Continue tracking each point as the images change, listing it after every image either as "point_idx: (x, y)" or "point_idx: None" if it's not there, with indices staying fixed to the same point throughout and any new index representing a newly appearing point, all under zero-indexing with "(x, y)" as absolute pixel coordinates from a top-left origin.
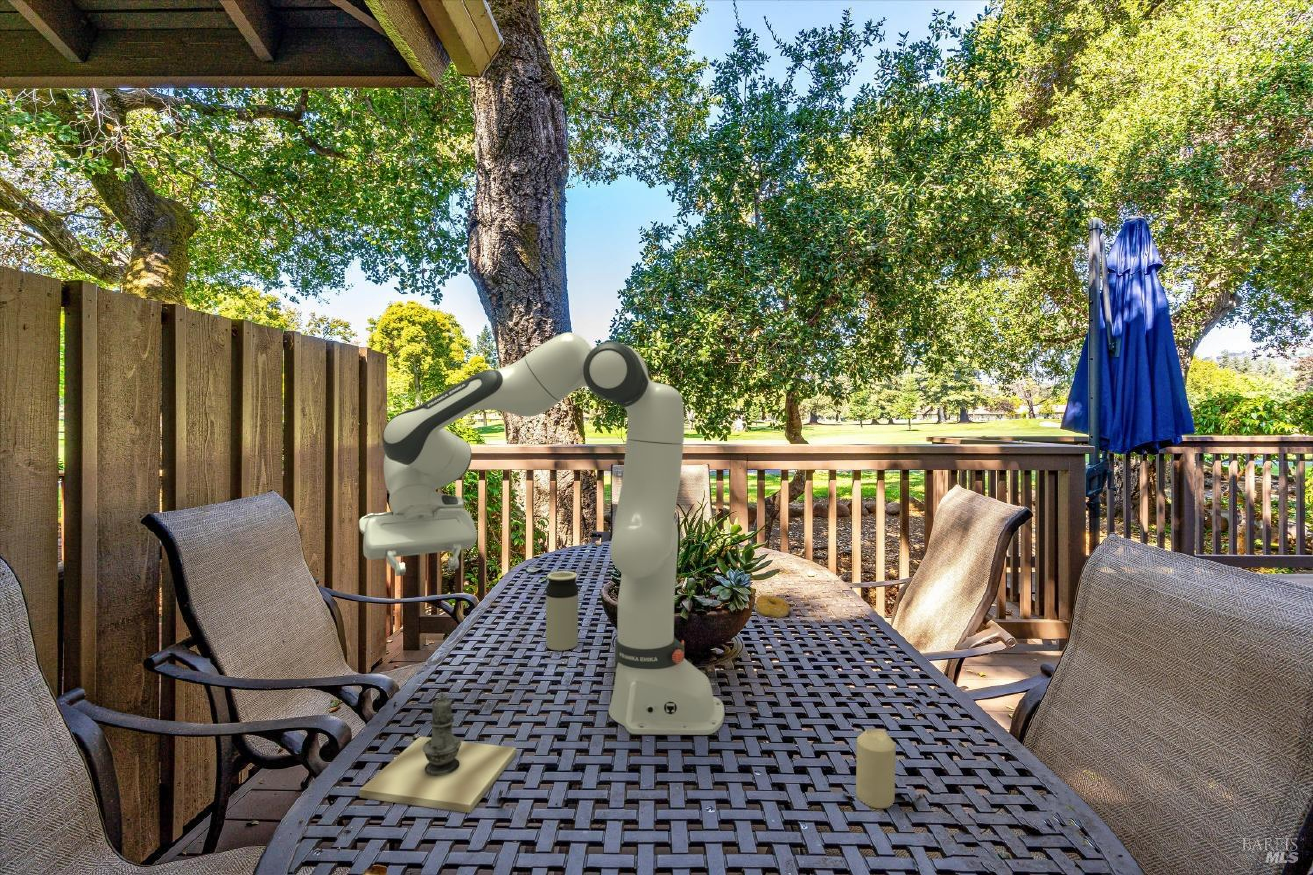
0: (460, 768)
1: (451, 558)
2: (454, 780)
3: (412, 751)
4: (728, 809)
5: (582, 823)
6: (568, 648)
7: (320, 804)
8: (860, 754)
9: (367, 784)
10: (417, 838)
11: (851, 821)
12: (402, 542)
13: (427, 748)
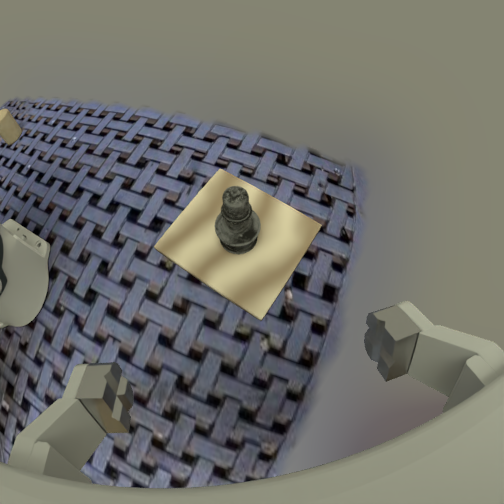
0: None
1: (97, 389)
2: None
3: (271, 283)
4: (66, 137)
5: (146, 141)
6: None
7: (352, 231)
8: (8, 118)
9: (315, 231)
10: (264, 159)
11: (36, 122)
12: (487, 414)
13: (255, 219)
